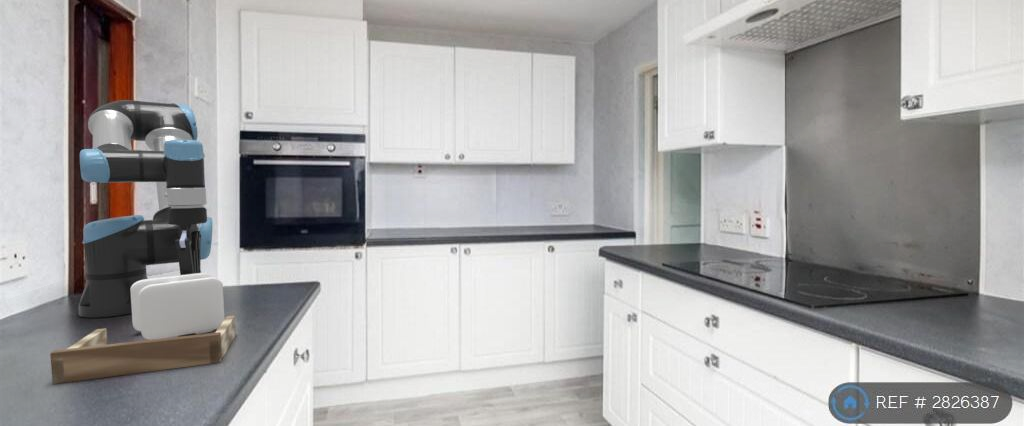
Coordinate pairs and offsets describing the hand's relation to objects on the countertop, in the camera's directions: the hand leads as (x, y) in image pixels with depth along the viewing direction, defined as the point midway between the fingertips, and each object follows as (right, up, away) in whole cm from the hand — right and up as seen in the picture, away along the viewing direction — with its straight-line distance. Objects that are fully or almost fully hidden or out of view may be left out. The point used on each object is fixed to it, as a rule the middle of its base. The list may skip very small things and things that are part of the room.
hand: (192, 306), depth 111 cm
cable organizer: (+4, -4, -10) cm, 12 cm away
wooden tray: (+10, -4, -24) cm, 26 cm away
